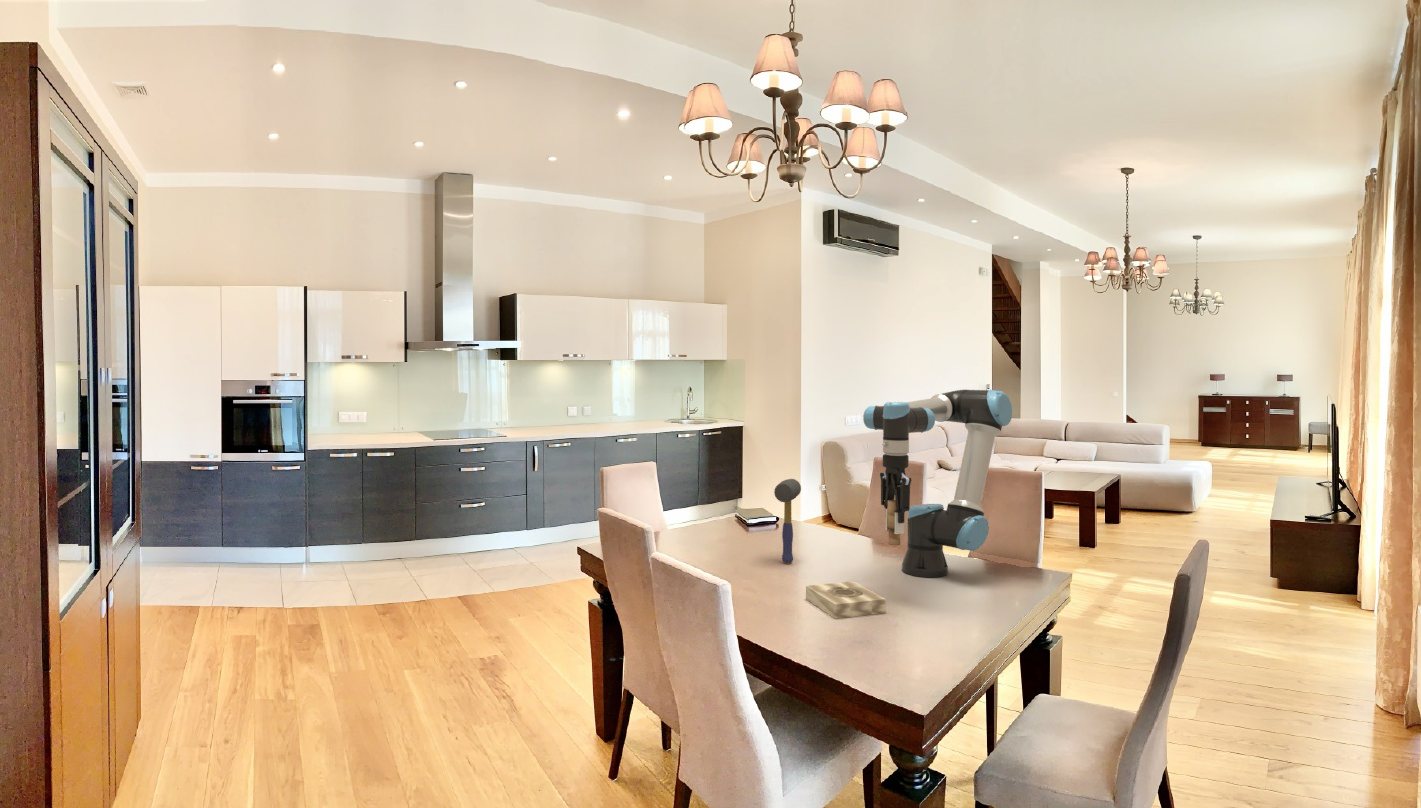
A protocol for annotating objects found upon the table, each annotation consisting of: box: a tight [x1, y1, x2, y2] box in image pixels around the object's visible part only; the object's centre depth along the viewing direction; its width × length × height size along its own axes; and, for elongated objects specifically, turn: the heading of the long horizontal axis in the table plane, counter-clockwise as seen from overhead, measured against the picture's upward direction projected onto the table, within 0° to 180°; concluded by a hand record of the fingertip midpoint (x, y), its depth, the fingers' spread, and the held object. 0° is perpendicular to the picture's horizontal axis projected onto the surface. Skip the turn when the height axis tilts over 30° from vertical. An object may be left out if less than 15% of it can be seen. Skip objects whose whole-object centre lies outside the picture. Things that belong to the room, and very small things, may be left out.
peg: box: [887, 499, 901, 546], centre depth 227 cm, size 4×4×13 cm
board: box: [805, 581, 887, 619], centre depth 223 cm, size 16×19×4 cm
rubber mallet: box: [773, 478, 802, 565], centre depth 271 cm, size 12×8×30 cm, turn 159°
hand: (894, 531), depth 227 cm, fingers closed on peg, 4 cm apart
